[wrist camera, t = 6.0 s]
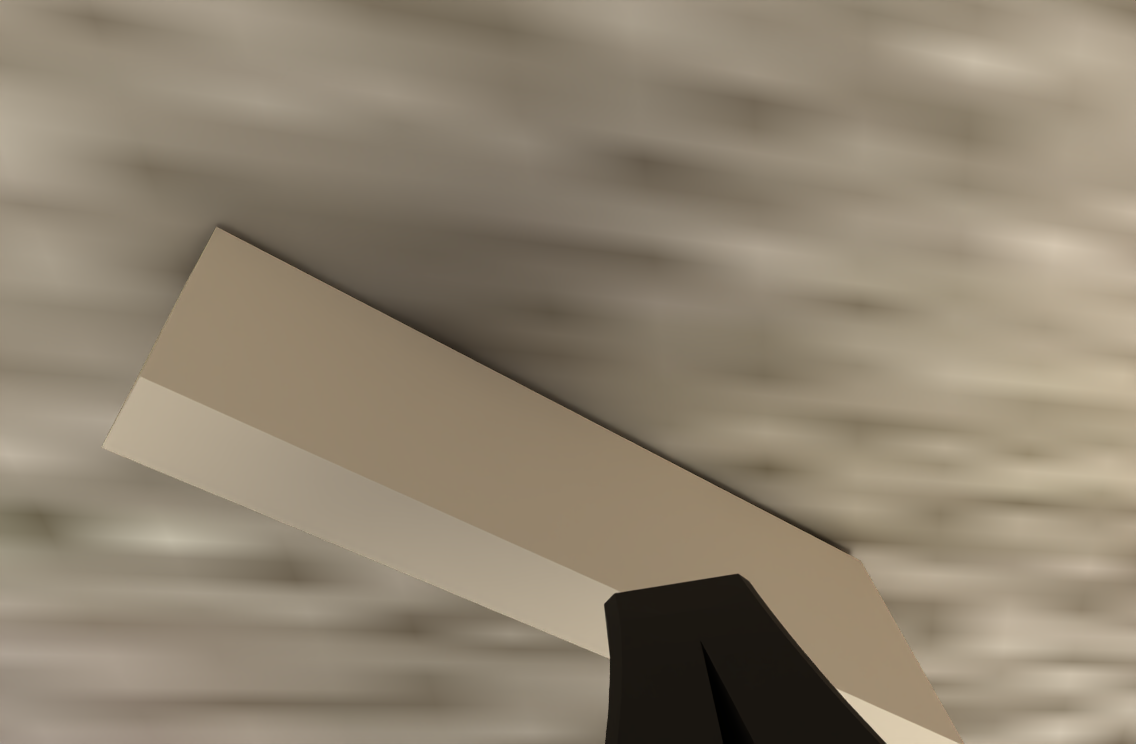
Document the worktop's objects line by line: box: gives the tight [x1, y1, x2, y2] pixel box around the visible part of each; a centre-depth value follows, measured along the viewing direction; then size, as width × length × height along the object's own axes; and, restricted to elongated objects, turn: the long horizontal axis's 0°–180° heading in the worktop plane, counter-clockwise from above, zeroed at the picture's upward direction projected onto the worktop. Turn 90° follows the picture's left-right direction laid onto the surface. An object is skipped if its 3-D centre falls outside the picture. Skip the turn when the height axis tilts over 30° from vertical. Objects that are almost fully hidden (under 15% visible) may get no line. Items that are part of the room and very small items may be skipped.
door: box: [101, 227, 964, 744], centre depth 17 cm, size 15×1×5 cm, turn 56°
